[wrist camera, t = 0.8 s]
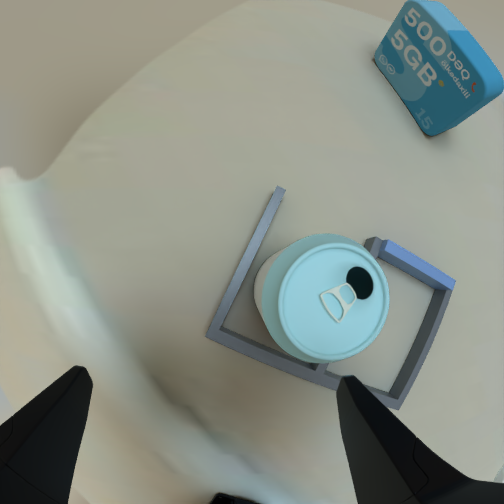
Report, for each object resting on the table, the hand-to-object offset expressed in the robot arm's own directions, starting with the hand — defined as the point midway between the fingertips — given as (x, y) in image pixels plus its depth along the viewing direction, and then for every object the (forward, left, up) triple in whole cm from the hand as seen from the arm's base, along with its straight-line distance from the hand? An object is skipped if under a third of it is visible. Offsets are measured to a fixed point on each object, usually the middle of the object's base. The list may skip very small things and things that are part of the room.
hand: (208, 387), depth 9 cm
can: (+5, -4, -16) cm, 17 cm away
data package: (+31, -8, -16) cm, 36 cm away
